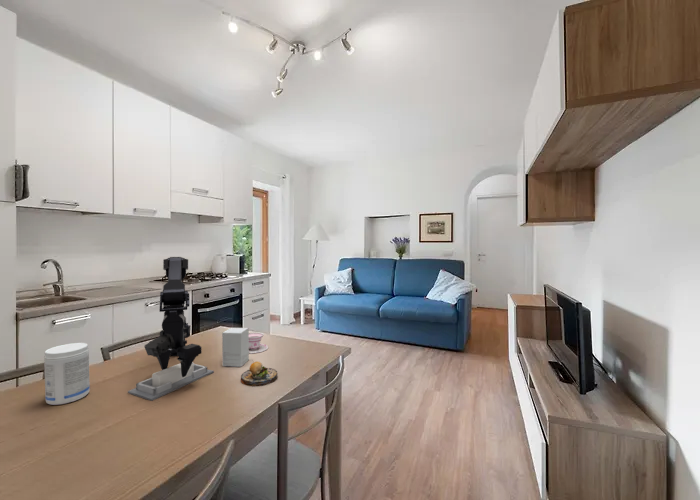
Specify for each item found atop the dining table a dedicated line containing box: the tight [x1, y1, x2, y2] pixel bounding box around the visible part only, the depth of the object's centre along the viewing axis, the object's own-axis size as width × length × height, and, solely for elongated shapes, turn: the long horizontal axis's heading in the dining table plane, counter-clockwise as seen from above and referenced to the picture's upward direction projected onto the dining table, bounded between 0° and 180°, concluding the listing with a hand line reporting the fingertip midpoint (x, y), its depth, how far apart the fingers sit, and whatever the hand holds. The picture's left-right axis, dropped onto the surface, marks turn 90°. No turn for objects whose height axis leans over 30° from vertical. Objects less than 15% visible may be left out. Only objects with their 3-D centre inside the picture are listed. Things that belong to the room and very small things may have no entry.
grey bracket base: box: [127, 363, 215, 402], centre depth 101 cm, size 11×22×2 cm, turn 156°
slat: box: [151, 361, 195, 388], centre depth 101 cm, size 4×12×4 cm, turn 156°
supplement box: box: [221, 327, 250, 368], centre depth 118 cm, size 7×7×13 cm
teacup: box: [249, 332, 269, 354], centre depth 134 cm, size 12×12×6 cm
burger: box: [240, 359, 278, 387], centre depth 105 cm, size 12×12×8 cm
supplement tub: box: [43, 342, 91, 406], centre depth 90 cm, size 10×10×15 cm
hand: (174, 374), depth 101 cm, fingers open, 9 cm apart
